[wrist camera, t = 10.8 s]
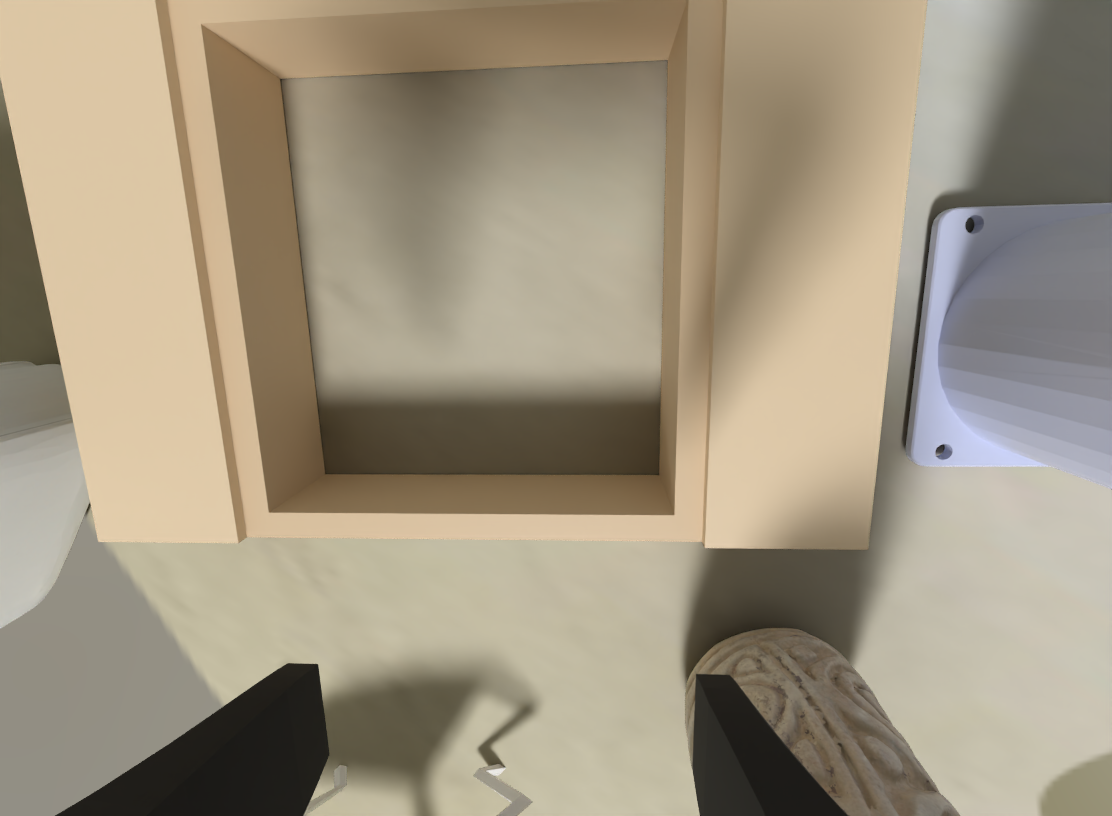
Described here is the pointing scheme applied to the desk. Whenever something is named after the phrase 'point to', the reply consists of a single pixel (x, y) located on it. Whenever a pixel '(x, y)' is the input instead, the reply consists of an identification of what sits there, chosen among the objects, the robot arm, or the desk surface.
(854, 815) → the carving
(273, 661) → the desk surface
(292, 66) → the carton
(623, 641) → the desk surface
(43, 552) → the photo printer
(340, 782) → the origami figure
